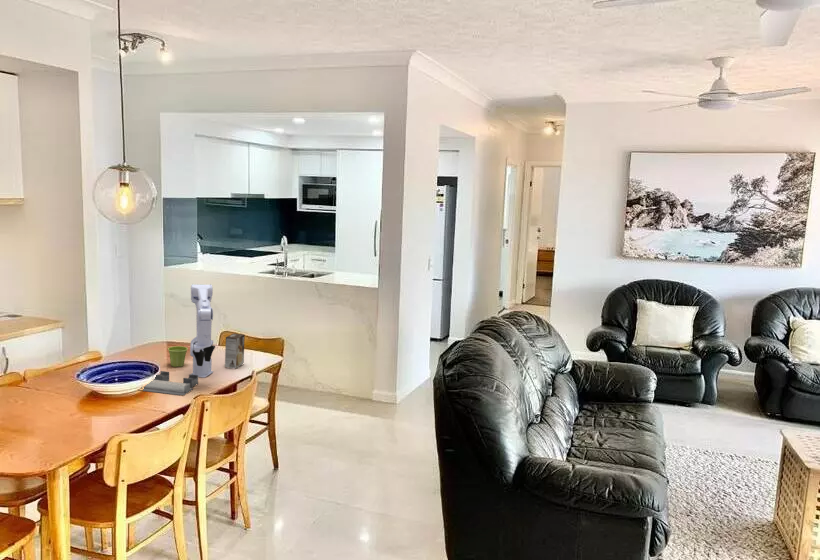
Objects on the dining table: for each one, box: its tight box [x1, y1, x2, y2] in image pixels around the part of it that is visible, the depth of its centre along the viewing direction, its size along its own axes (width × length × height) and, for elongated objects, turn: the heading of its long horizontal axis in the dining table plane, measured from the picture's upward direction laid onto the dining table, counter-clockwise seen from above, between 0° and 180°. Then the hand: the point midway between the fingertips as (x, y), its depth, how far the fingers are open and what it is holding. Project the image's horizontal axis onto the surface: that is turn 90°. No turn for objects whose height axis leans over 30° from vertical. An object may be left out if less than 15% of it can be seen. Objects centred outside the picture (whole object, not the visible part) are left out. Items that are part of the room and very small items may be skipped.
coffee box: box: [224, 333, 246, 369], centre depth 308 cm, size 9×6×16 cm
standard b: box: [153, 370, 170, 382], centre depth 276 cm, size 6×4×4 cm, turn 173°
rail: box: [144, 379, 191, 394], centre depth 267 cm, size 4×21×3 cm, turn 83°
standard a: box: [182, 373, 199, 389], centre depth 275 cm, size 6×4×4 cm, turn 173°
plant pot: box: [167, 345, 189, 368], centre depth 302 cm, size 9×9×9 cm
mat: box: [142, 387, 194, 396], centre depth 267 cm, size 9×21×1 cm, turn 83°
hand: (203, 363), depth 275 cm, fingers open, 7 cm apart
